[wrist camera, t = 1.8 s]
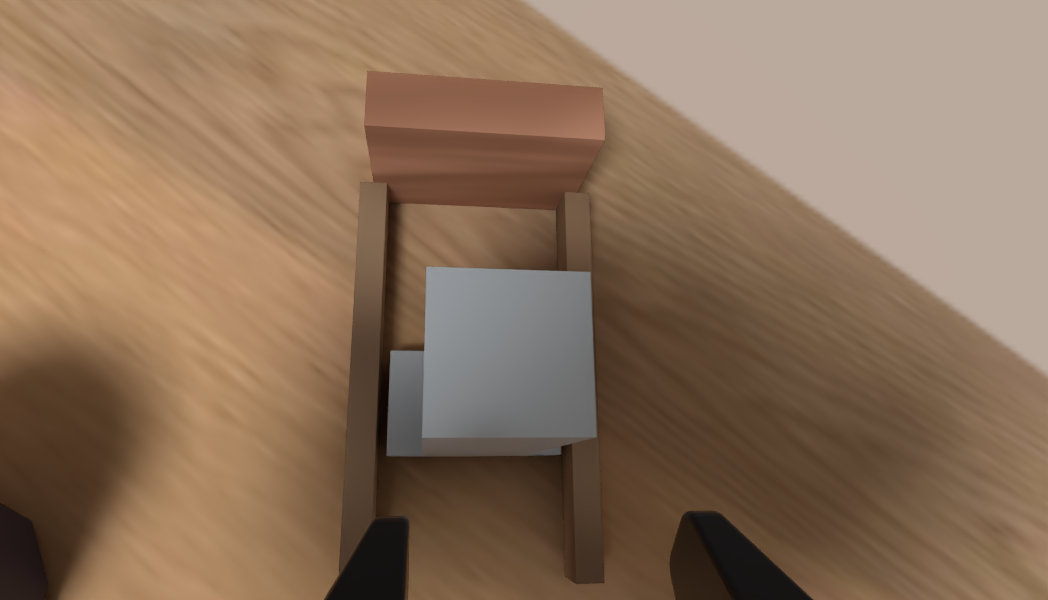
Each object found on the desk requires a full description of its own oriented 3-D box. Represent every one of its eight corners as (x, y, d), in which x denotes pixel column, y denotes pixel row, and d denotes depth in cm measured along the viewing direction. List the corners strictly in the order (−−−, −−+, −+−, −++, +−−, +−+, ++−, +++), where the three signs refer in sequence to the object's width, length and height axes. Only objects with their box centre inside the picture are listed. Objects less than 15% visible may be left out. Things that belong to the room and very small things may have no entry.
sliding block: (554, 456, 21) (652, 436, 12) (388, 456, 20) (360, 438, 11) (552, 358, 21) (642, 273, 13) (391, 356, 21) (369, 264, 12)
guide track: (591, 575, 20) (644, 605, 15) (344, 583, 19) (318, 618, 14) (577, 168, 24) (616, 89, 19) (366, 156, 23) (351, 69, 18)
